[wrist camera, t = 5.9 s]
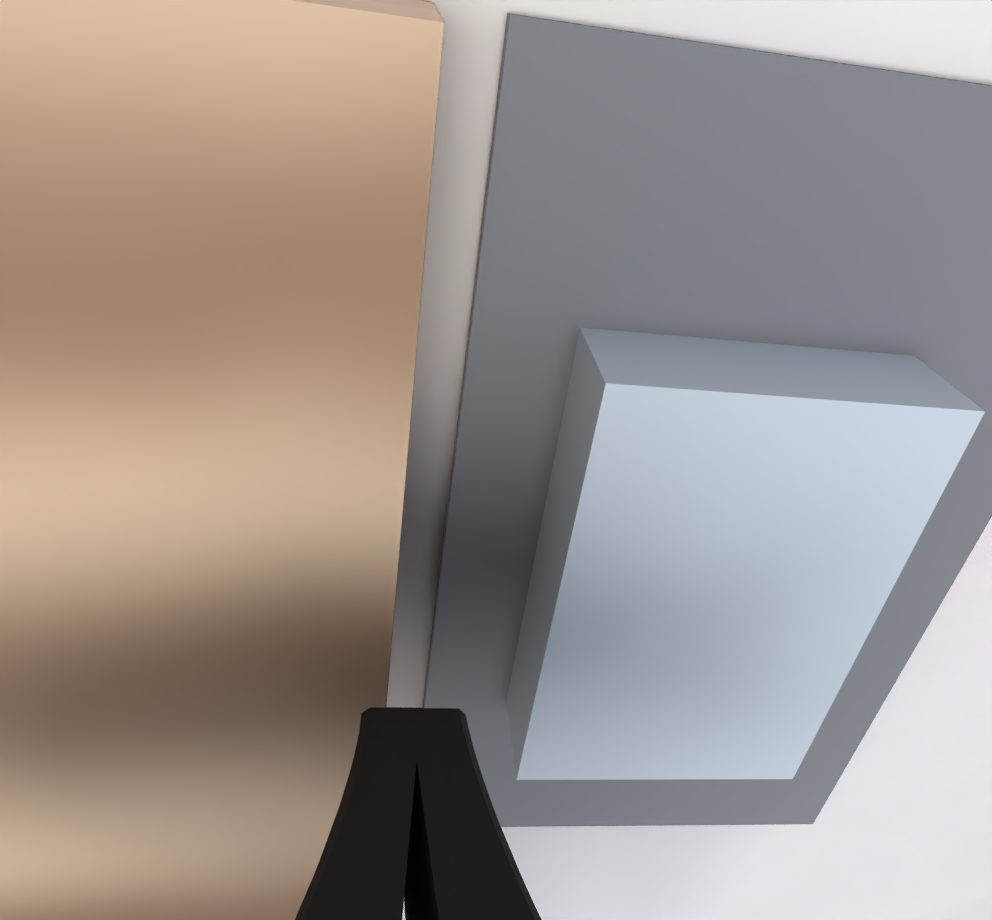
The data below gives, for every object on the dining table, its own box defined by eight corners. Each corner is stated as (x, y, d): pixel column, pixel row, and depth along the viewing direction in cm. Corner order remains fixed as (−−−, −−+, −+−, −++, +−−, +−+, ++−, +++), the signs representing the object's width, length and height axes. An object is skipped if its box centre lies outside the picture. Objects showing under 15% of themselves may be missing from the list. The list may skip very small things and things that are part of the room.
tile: (516, 779, 16) (506, 700, 17) (792, 779, 17) (757, 704, 18) (606, 383, 11) (579, 327, 13) (985, 411, 12) (914, 355, 14)
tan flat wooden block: (370, 816, 20) (361, 991, 16) (-155, 820, 18) (-284, 1016, 15) (433, 1, 10) (444, 23, 7) (-661, -161, 9) (-1354, -240, 5)
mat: (808, 813, 22) (812, 824, 21) (409, 816, 20) (409, 827, 20) (1204, 117, 12) (1222, 120, 12) (507, 13, 10) (510, 14, 10)
